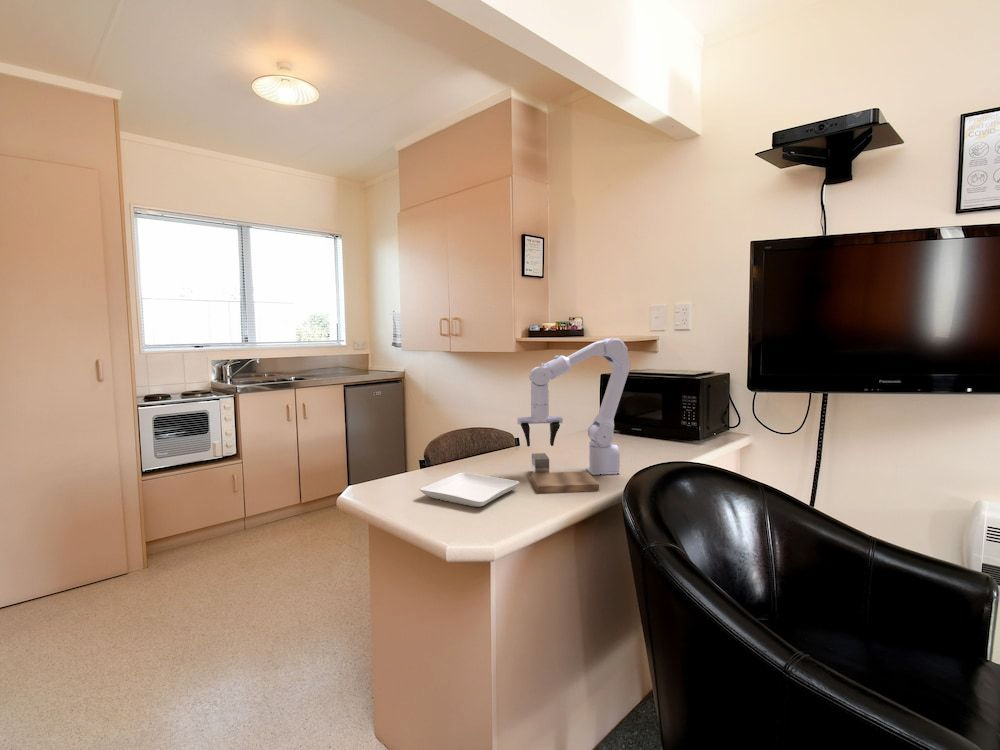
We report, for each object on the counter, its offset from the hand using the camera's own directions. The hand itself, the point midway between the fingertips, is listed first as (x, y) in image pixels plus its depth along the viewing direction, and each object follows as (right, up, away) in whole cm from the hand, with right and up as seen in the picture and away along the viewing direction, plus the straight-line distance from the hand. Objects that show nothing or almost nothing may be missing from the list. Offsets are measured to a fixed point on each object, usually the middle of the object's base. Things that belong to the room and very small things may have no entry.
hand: (540, 445), depth 161 cm
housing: (0, -10, +1) cm, 10 cm away
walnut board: (+6, -10, -12) cm, 17 cm away
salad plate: (-21, -12, -20) cm, 31 cm away
